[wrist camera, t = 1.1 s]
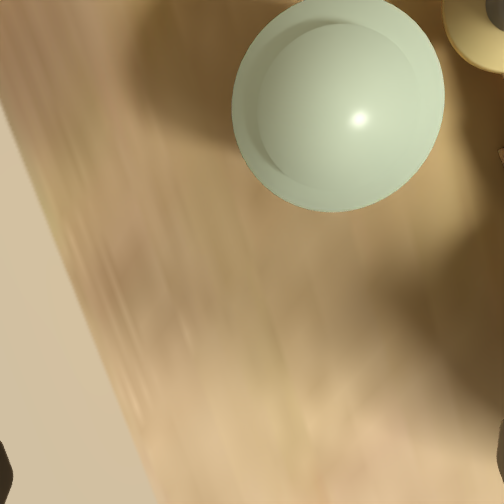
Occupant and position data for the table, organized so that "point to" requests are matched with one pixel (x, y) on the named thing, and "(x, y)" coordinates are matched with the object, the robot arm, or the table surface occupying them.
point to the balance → (477, 33)
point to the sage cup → (338, 103)
